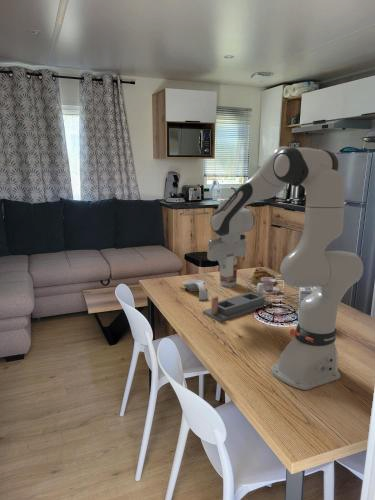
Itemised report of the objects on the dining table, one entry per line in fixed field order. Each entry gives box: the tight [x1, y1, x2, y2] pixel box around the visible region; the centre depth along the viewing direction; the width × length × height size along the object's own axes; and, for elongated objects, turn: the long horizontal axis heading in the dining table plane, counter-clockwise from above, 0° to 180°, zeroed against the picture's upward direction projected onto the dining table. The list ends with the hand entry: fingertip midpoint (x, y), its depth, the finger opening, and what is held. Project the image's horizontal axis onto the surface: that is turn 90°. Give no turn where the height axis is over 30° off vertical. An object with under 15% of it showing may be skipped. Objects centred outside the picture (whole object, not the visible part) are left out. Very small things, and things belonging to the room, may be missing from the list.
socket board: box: [202, 283, 273, 322], centre depth 169 cm, size 33×12×9 cm, turn 126°
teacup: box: [261, 277, 281, 295], centre depth 193 cm, size 12×12×6 cm
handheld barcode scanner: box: [182, 279, 209, 301], centre depth 191 cm, size 24×12×7 cm, turn 16°
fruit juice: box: [219, 257, 238, 288], centre depth 201 cm, size 9×9×28 cm
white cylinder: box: [219, 254, 234, 277], centre depth 160 cm, size 4×4×10 cm
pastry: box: [251, 267, 276, 286], centre depth 207 cm, size 13×15×8 cm
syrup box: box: [297, 287, 315, 322], centre depth 154 cm, size 6×6×14 cm
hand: (226, 267), depth 160 cm, fingers closed on white cylinder, 4 cm apart
